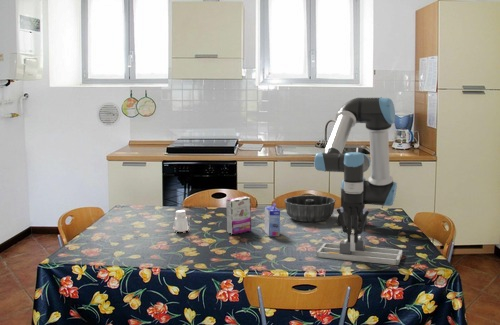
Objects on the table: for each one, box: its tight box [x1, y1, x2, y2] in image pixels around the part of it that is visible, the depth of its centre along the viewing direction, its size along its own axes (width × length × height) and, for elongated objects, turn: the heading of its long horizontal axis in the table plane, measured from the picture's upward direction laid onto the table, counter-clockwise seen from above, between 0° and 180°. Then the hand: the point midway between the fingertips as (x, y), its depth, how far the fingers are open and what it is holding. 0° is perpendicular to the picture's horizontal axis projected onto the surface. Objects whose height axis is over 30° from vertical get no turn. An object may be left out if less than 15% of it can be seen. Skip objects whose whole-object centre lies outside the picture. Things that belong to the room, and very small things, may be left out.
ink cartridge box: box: [263, 202, 281, 237], centre depth 265 cm, size 10×6×14 cm, turn 11°
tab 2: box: [355, 235, 366, 251], centre depth 231 cm, size 4×4×7 cm
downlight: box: [172, 209, 191, 231], centre depth 272 cm, size 8×7×10 cm
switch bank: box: [315, 242, 403, 266], centre depth 228 cm, size 14×32×4 cm, turn 69°
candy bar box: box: [225, 196, 252, 235], centre depth 269 cm, size 11×5×16 cm, turn 126°
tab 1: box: [339, 238, 352, 255], centre depth 227 cm, size 4×4×7 cm
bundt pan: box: [283, 194, 337, 223], centre depth 294 cm, size 26×26×10 cm
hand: (352, 250), depth 226 cm, fingers closed
